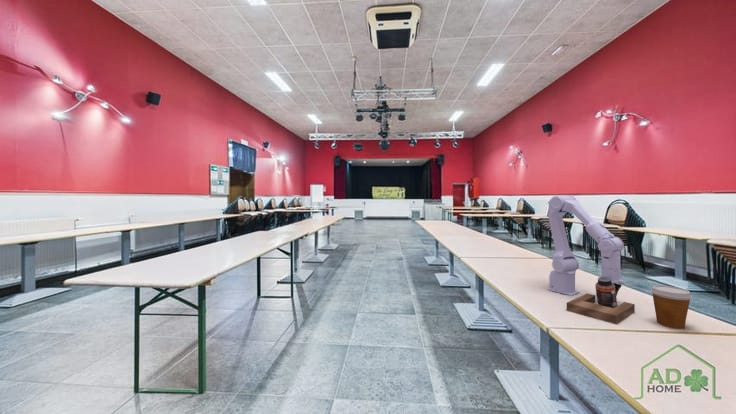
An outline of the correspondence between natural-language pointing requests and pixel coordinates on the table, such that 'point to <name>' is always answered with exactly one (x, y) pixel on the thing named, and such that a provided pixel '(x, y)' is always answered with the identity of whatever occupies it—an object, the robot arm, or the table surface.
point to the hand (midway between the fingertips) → (611, 301)
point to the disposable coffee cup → (671, 305)
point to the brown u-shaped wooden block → (600, 309)
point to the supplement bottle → (606, 292)
